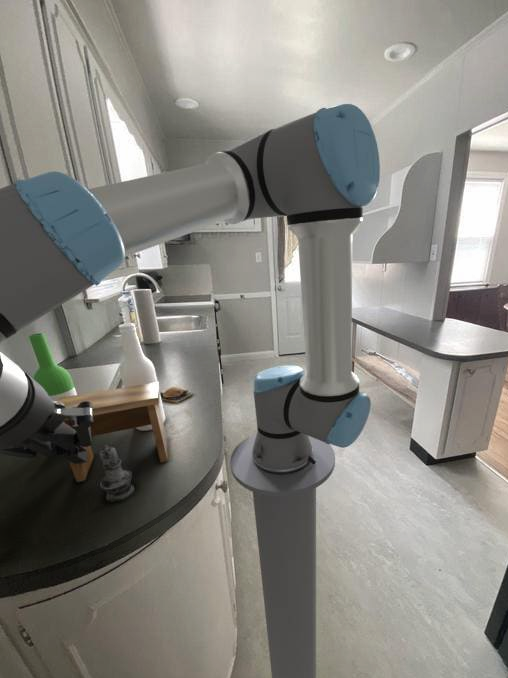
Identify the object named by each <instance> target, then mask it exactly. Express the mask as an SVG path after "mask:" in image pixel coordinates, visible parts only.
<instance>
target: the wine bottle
mask: <svg viewBox="0 0 508 678" xmlns="http://www.w3.org/2000/svg"><path fill="white" fill-rule="evenodd" d="M28 338H29V342H30V344H31V346H32V349H33V353H34V354H35V358H36V360H37V363H38V367H39V368H38V369H37V370H36V371H35V373H34V375H33V377H32V378H33V379H34V380H35V381H36V382H37V383H39V384H40V385H41V386H42V387H43V388H44V390H45V391H46V392H47V394H48V395H49V397H50V398H51V399H52V400H54V401H58V400H59V398H61V397H68V396H74V395H78V393H77V390H76V388H75V385H74V382H73V378H72V376H71V374H70V373H69V371H68V370H67V369H65V368H64V367H62V366H60V365H58V364H56V363H55V361H54V358H53V355H52V352H51V350H50V346H49V343H48V342H47V338H46V336H45V334H44V333H43V332H40V333H32V334H29V335H28Z"/></svg>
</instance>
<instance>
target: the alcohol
mask: <svg viewBox="0 0 508 678" xmlns="http://www.w3.org/2000/svg"><path fill="white" fill-rule="evenodd" d="M118 329H119V331H118V332H119V333H120V339H121V345H122V351H123V355H124V356H123V361H122V362H121V364H120V366H119V375H120V378H121V383H122V388H125V387H131V386H137V385H144V384H150V383H156V382H158V377H157V373H156V368H155V366H154V363H153V362H152V361H151V360H150V359H149V358H148V357H146V356H145V354H144V352H143V348H142V347H141V343H140V339H139V336H138V333H137V328H136V324H134V323H133V322H131V323H122V324H119V325H118ZM159 407H160V411H161V415H162V420H163V424H164V423H165V421H166V415H165V414H166V413H165V410H164V405H163V400H161V396H160V394H159ZM135 429H137V430H138V431H153V429H152V425H146V426H141V427H136V428H135Z"/></svg>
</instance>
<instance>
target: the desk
mask: <svg viewBox="0 0 508 678" xmlns="http://www.w3.org/2000/svg"><path fill="white" fill-rule="evenodd" d="M160 393H161V391H160V383H159V381H157V382H156V383H150V384H144V385H137V386H131V387H125V388H124V387H119V388H113V389H106V390H101V391H94V392H86V393H81V394H77V395H74V396H68V397H61V398H59V400H58V402H61V403H63V404H64V405H65V407H66V408H72V407H73V406H78V405H79V404H80V403H81V402H84V401H88V402H92V410H93V424H92V425H91V426H90V427H91V437H95V436H100V435H107V434H111V433H115V432H120V431H125V430H131V429H137V428H136V427H141V426H146V425H152V432H153V437H154V441H155V445H156V450H157V453H158V458H159V461H160V463H165V462H168V461H169V460H168V458H169V457H168V438H167V434H166V429H165V424H164V423H163V420H162V415H161V411H160V407H159V394H160ZM63 422H64V423H66V424H67V425H68V426H70V427H71V428H73V429H74V430H76V427H73V426H72V422H70V421H69V419H65V420H64V421H63ZM86 452H87V462H83V463H78V464H75V463H73V462H70V461H68V463H69V466H70V468H71V471H72V473H73V475H74V478H75V481H76V483H82V482H85V481H86V479H87V477H88V473H89V470H90V468H91V465H92V462H93V459H94V453H93V450H92V448H91V446H88V447H86Z"/></svg>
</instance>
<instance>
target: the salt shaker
mask: <svg viewBox="0 0 508 678" xmlns="http://www.w3.org/2000/svg"><path fill="white" fill-rule="evenodd" d="M118 456H119V455H118V453H117V450H116V448H115V447H113V446H109V445H108V444H104V446H103V448H102V449H101V451H100V452H99V457H100V460H101V463H102V465H101V469H102V470H104V473H105V476H104V477H103V478H102V479H101V480H100V483H99V485H100V487H101V489H103V490H104V491H105V492H106V496H105V497H106V500H107V501H108V502H119V501H123V500H125V499H127V498H128V497H130V496H131V495H132V494H133V492H134V491H135V487H134V485H133V484H132V483H131V482H132V476H133V474H132V472H131V470H128V469H123V468H122V465H121V464H122V459H121V458H119V457H118Z"/></svg>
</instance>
